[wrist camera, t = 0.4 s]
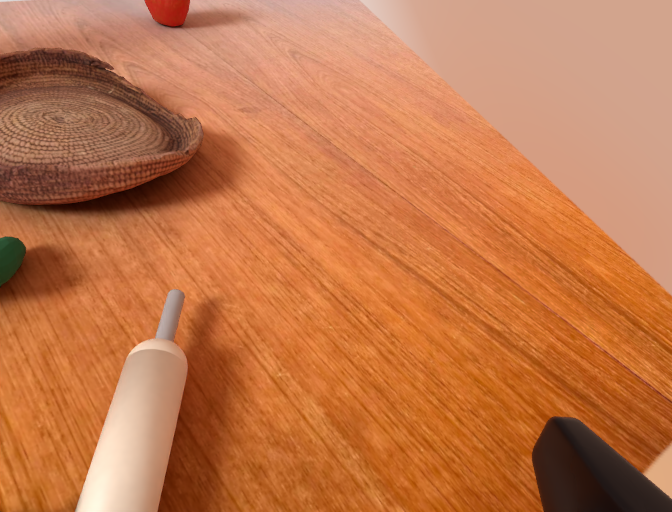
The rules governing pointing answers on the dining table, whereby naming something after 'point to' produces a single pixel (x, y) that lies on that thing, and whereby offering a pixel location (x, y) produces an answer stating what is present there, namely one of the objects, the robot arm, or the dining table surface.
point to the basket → (81, 130)
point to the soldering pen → (140, 424)
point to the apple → (168, 11)
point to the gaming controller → (10, 257)
